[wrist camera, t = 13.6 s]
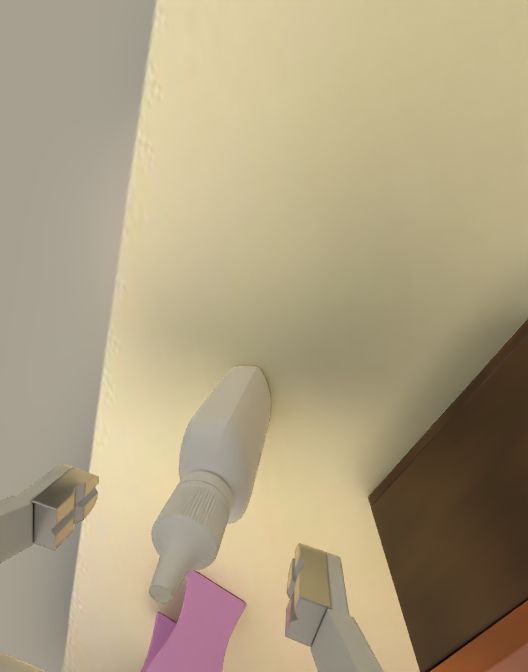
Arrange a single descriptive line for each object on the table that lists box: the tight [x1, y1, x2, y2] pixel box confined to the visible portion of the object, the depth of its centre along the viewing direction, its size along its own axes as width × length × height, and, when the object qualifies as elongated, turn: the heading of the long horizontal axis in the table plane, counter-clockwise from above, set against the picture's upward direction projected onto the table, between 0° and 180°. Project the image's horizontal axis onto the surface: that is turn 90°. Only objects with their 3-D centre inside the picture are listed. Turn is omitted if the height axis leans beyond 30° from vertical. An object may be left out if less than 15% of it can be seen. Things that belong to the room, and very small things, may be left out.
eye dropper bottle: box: [149, 366, 271, 603], centre depth 13 cm, size 4×6×12 cm
